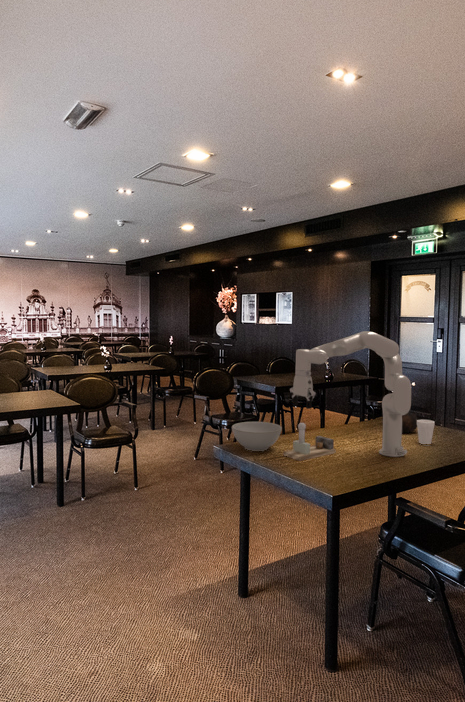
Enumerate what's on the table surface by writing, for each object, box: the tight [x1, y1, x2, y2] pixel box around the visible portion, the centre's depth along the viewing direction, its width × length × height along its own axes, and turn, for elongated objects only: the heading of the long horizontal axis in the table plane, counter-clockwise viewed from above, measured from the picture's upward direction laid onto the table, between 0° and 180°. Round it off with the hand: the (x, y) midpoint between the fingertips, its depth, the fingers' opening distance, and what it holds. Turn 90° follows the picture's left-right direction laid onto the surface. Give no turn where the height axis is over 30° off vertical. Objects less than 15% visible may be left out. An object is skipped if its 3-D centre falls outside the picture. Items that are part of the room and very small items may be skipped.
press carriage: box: [292, 422, 311, 454], centre depth 252 cm, size 9×4×15 cm, turn 37°
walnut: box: [315, 441, 323, 449], centre depth 261 cm, size 4×4×3 cm
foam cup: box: [416, 419, 436, 445], centre depth 280 cm, size 10×9×13 cm
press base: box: [282, 435, 337, 462], centre depth 256 cm, size 12×26×7 cm, turn 127°
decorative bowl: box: [231, 421, 283, 452], centre depth 266 cm, size 27×27×12 cm
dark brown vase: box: [402, 411, 419, 434], centre depth 311 cm, size 18×18×28 cm
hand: (301, 407), depth 251 cm, fingers open, 9 cm apart
